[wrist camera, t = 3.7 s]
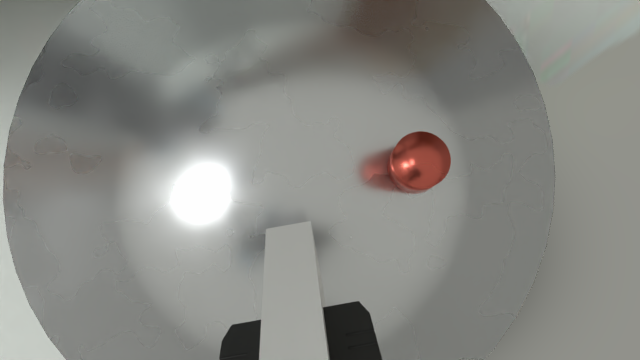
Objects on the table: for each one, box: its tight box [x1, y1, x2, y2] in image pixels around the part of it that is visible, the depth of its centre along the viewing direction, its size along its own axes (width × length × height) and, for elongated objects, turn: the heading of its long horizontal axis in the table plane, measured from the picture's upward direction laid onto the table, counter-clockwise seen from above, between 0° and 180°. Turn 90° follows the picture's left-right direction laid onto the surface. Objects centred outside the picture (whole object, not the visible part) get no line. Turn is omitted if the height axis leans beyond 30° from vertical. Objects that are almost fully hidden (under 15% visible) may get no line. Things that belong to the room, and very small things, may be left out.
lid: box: [3, 0, 555, 360], centre depth 16 cm, size 21×28×3 cm
